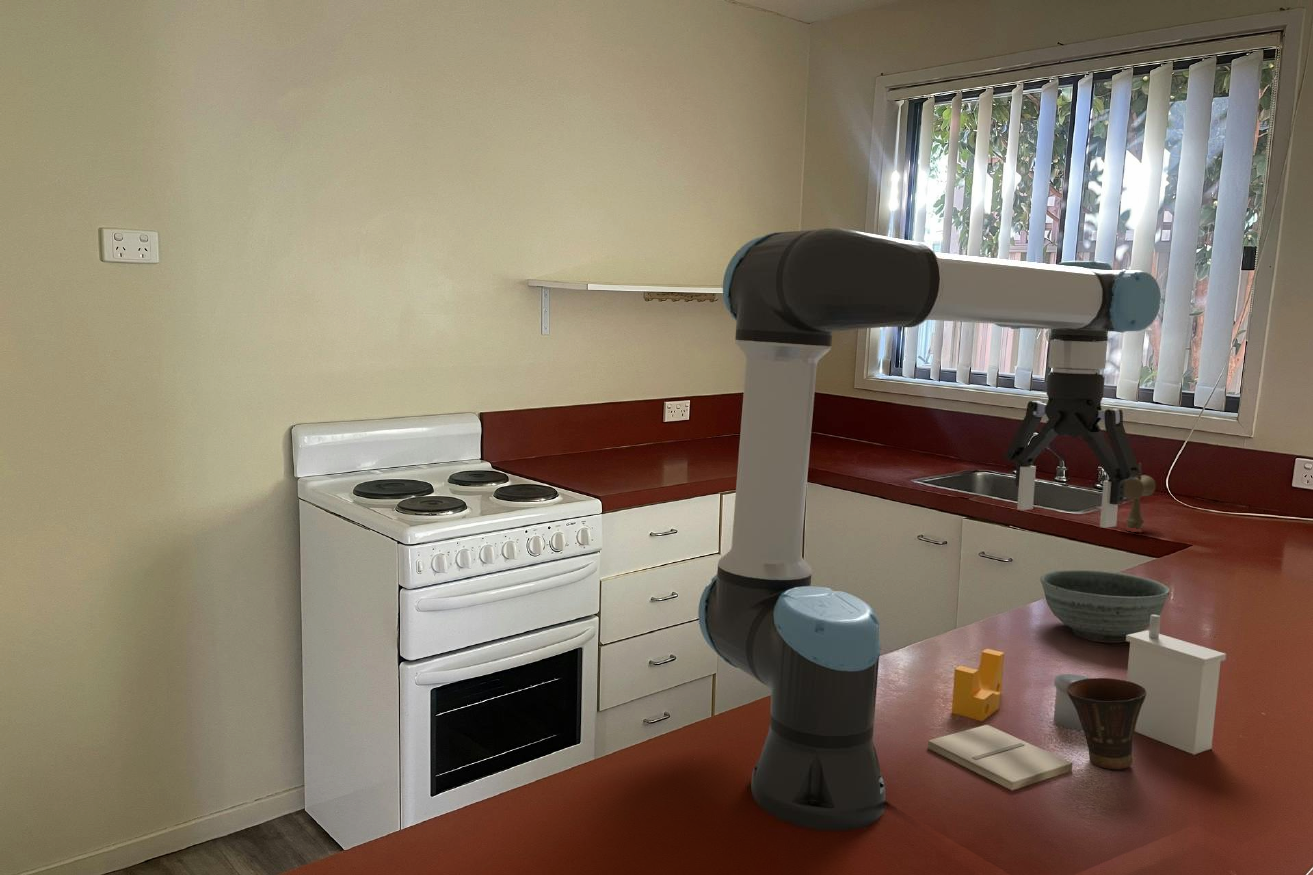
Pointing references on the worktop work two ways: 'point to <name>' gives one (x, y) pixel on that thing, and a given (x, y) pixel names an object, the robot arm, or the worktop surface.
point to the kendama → (1137, 496)
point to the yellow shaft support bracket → (979, 687)
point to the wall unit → (1175, 688)
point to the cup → (1108, 718)
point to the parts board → (1000, 756)
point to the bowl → (1103, 602)
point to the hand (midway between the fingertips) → (1064, 517)
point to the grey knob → (1066, 702)
